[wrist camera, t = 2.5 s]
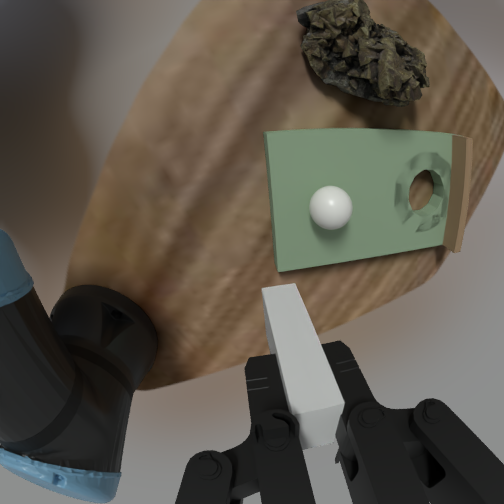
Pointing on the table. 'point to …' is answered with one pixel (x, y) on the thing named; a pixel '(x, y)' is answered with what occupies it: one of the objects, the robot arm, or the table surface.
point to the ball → (330, 207)
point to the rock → (361, 53)
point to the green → (365, 192)
